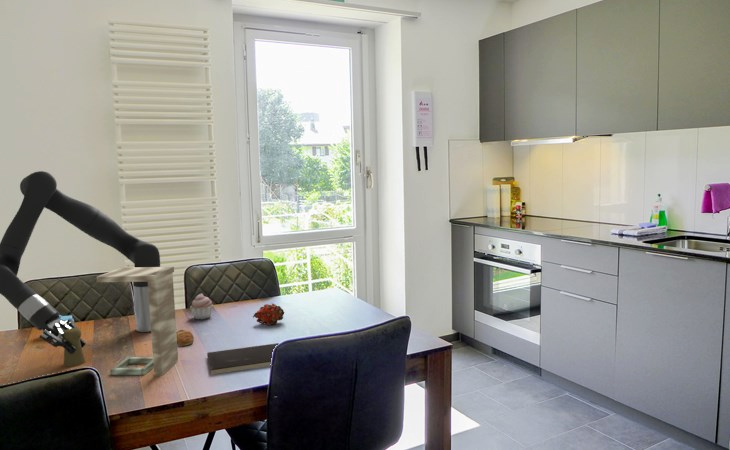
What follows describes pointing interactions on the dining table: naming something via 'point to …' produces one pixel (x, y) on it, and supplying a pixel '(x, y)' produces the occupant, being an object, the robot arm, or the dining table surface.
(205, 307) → the cupcake
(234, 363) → the hardcover book
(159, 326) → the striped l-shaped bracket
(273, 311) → the dragon fruit
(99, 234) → the robot arm
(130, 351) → the dining table surface
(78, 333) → the olive brown pepper mill
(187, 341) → the pastry
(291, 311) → the dining table surface
